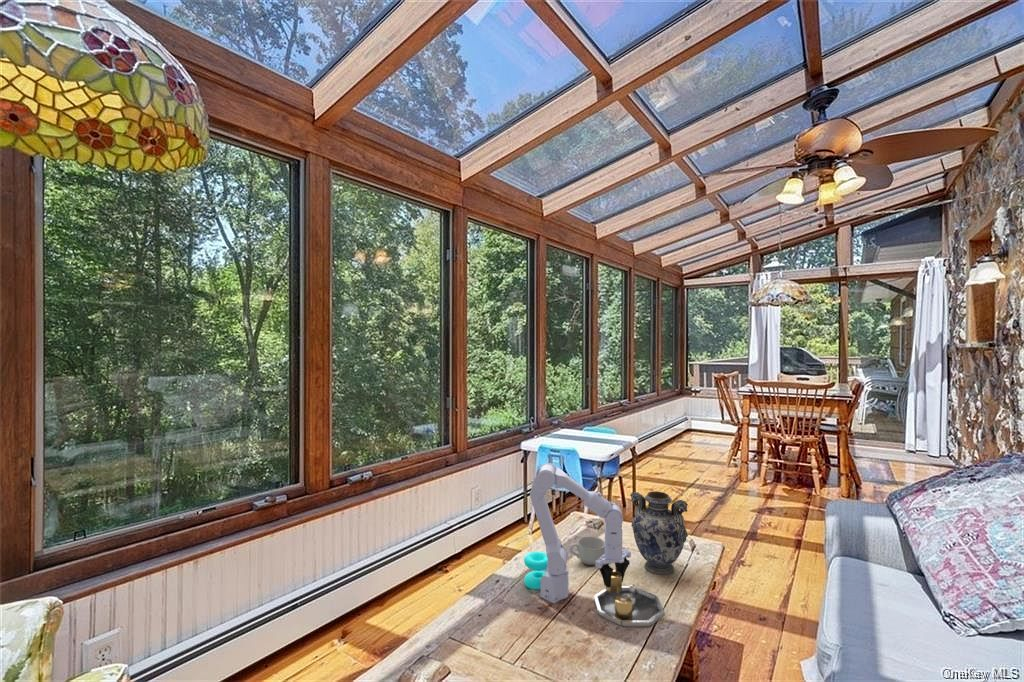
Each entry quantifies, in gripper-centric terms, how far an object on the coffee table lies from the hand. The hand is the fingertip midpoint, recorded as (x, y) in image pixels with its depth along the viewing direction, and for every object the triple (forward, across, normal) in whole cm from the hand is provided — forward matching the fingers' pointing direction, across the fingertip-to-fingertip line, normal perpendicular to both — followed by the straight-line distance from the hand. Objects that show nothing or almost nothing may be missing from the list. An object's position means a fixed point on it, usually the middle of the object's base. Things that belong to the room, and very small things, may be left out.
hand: (613, 583), depth 156 cm
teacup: (+6, +12, +25) cm, 28 cm away
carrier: (+6, 0, -6) cm, 8 cm away
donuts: (+6, -14, +23) cm, 27 cm away
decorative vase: (+6, +30, +6) cm, 32 cm away
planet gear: (+2, 0, 0) cm, 2 cm away
